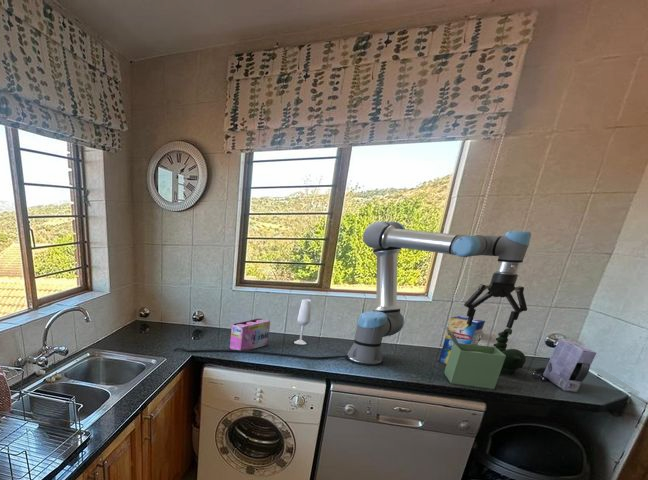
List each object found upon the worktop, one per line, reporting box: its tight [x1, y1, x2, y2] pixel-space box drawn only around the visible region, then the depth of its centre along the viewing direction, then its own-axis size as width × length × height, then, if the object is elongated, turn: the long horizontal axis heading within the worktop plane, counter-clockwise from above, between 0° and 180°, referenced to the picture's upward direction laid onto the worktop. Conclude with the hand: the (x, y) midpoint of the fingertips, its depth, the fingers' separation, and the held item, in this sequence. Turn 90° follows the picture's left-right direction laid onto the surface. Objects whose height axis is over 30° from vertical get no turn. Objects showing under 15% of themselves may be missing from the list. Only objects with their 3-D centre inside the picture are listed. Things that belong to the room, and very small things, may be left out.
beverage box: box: [438, 315, 486, 365], centre depth 190 cm, size 7×11×22 cm, turn 28°
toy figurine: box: [492, 327, 527, 375], centre depth 184 cm, size 9×19×25 cm
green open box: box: [443, 343, 506, 390], centre depth 171 cm, size 15×13×14 cm
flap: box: [445, 326, 461, 349], centre depth 170 cm, size 7×13×1 cm
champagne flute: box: [293, 298, 312, 345], centre depth 220 cm, size 7×7×24 cm
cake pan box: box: [542, 338, 597, 393], centre depth 167 cm, size 19×5×18 cm, turn 158°
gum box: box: [229, 317, 271, 351], centre depth 215 cm, size 24×8×14 cm, turn 127°
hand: (488, 326), depth 164 cm, fingers open, 13 cm apart
